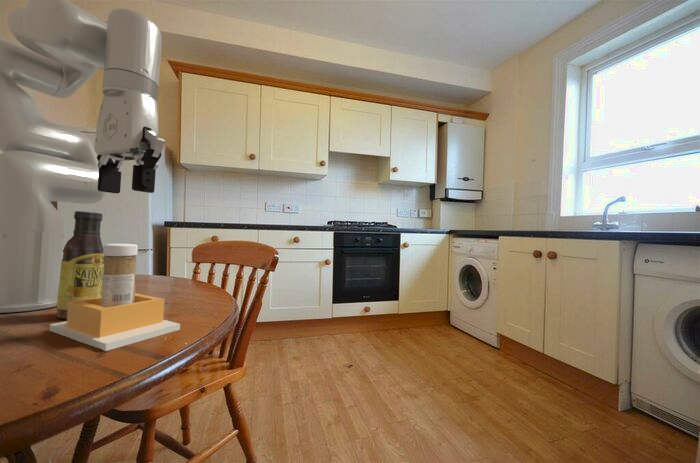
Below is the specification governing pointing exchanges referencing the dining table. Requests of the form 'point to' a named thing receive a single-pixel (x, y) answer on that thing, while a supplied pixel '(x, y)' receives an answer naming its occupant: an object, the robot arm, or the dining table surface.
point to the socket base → (114, 322)
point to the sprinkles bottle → (119, 274)
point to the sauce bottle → (81, 263)
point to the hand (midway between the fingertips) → (125, 191)
